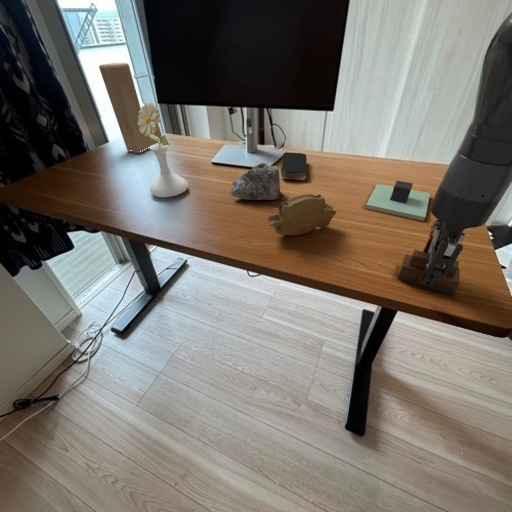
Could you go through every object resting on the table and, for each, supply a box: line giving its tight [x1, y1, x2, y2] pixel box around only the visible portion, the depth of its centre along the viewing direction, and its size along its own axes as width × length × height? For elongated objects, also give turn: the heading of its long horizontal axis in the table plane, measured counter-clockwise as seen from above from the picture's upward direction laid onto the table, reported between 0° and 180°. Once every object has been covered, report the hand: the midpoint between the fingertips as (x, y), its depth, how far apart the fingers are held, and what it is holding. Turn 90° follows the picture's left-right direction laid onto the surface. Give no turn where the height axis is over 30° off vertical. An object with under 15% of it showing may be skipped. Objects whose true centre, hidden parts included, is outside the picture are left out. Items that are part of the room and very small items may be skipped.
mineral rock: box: [230, 162, 282, 201], centre depth 76 cm, size 13×11×10 cm
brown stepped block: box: [396, 249, 461, 296], centre depth 49 cm, size 9×4×6 cm, turn 60°
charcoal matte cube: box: [390, 180, 414, 203], centre depth 71 cm, size 4×4×4 cm
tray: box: [364, 183, 431, 222], centre depth 73 cm, size 14×14×1 cm
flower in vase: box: [138, 101, 189, 198], centre depth 74 cm, size 13×11×25 cm
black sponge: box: [280, 152, 308, 181], centre depth 90 cm, size 16×8×4 cm, turn 173°
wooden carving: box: [267, 193, 337, 237], centre depth 61 cm, size 16×5×10 cm, turn 112°
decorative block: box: [98, 62, 162, 154], centre depth 107 cm, size 15×8×30 cm, turn 157°
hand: (426, 269), depth 49 cm, fingers open, 8 cm apart
